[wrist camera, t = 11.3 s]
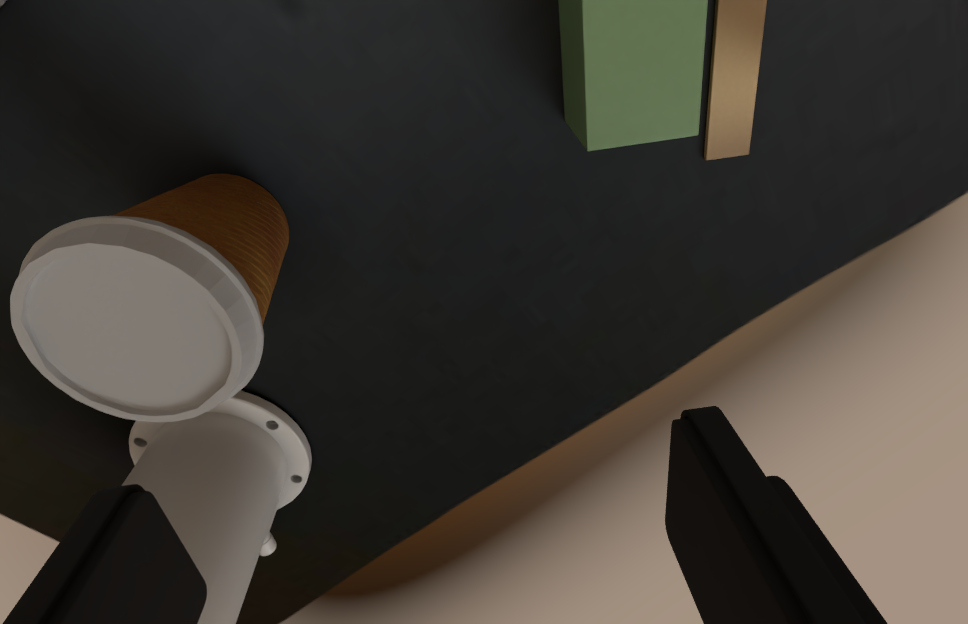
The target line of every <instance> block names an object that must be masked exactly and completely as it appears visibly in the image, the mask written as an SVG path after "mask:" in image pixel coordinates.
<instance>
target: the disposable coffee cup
mask: <svg viewBox="0 0 968 624" xmlns="http://www.w3.org/2000/svg"><path fill="white" fill-rule="evenodd" d="M288 243H289V227H288V222H287V219H286V216H285V214H284V212H283V210H282V208H281V207H280V205H279V203H278V202H277V201H276V200H275V199H274V197H273V196H272V195H271V194H270V193H269V192H267V191H266V190H265V189H264V188H263V187H261V186H260V185H258V184H256V183H255V182H253V181H251V180H249V179H246V178H244V177H241V176H237V175H231V174H210V175H206V176H203V177H201V178H198V179H196V180H194V181H191V182H189V183H187V184H185V185H182V186H180V187H177V188H175V189H173V190H170V191H168V192H165V193H163V194H160V195H158V196H156V197H153V198H151V199H149V200H147V201H145V202H142V203H140V204H138V205H135V206H133V207H130V208H128V209H126V210H123V211H121V212H119V213H116V214H114V215H112V216H101V217H88V218H84V219H80V220H77V221H73V222H70V223H67V224H64V225H62V226H60V227H58V228H56V229H53V230H52V231H50V232H49V233H48V234H46V235H45V236H44V237H42V238H41V239H40V240H38V241H37V242H36V243H34V245H33V246H32V248H31V250H30V251H29V253H28V254H27V256H26V257H25V259H24V260H23V262H22V265H21V269H20V273H19V277H18V278H17V279H16V281H15V284H14V287H13V290H12V293H11V296H10V313H11V323H12V327H13V330H14V332H15V335H16V337H17V340H18V342H19V344H20V346H21V348H22V349H23V351H24V352H25V354H26V355H27V357H28V358H29V360H30V361H31V363H32V364H33V365H34V366H35V367H36V368H37V369H38V370H39V371H40V372H41V373H42V375H43V376H45V377H46V378H47V379H48V380H49V381H50V382H52V383H53V384H54V385H55V386H56V387H58V388H59V389H61V390H62V391H64V392H65V393H67V394H68V395H70V396H71V397H73V398H74V399H75V400H77V401H79V402H82V403H84V404H86V405H88V406H90V407H93V408H95V409H97V410H99V411H101V412H104V413H107V414H111V415H114V416H117V417H120V418H124V419H130V420H137V421H143V422H175V421H180V420H185V419H189V418H194V417H196V416H199V415H201V414H203V413H205V412H208V411H210V410H211V409H213V408H214V407H216V406H217V405H219V404H220V403H221V402H223V401H225V400H227V399H229V398H231V397H232V396H234V395H235V394H237V393H238V392H239V391H240V390H241V389H242V388H244V387H245V386H246V385H247V383H248V382H249V381H250V380H251V378H252V377H253V375H254V373H255V371H256V370H257V368H258V366H259V363H260V359H261V356H262V352H263V342H264V332H263V327H262V325H263V323H264V319H265V316H266V313H267V309H268V306H269V303H270V300H271V296H272V293H273V290H274V287H275V284H276V281H277V277H278V274H279V271H280V267H281V264H282V261H283V258H284V255H285V252H286V249H287V246H288Z"/></svg>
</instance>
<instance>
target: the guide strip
mask: <svg viewBox="0 0 968 624" xmlns="http://www.w3.org/2000/svg"><path fill="white" fill-rule="evenodd" d="M766 4H767V0H716V3H715V16H714V29H713V42H712V56H711V69H710V82H709V95H708V109H707V122H706V135H705V148H704V159H705V160H713V159H720V158H727V157H734V156H741V155H748V154H749V148H750V139H751V131H752V122H753V114H754V106H755V97H756V89H757V80H758V72H759V63H760V55H761V46H762V38H763V29H764V21H765V12H766Z"/></svg>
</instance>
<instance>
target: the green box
mask: <svg viewBox="0 0 968 624" xmlns="http://www.w3.org/2000/svg"><path fill="white" fill-rule="evenodd" d="M558 3H559V21H560V40H561V58H562V77H563V95H564V114H565V122H566V123H567V125H568V126H569V127H570V129H571V130H572V131H573V133H574V134H575V135H576V137H577V138H578V139H579V141H580V142H581V143H582V145H583V146H584V147H585V149H586V150H587V151H593V150H600V149H607V148H614V147H620V146H627V145H634V144H641V143H648V142H655V141H662V140H669V139H676V138H683V137H690V136H696V135H698V132H699V118H700V103H701V89H702V75H703V60H704V46H705V32H706V17H707V3H708V0H558Z"/></svg>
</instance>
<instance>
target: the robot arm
mask: <svg viewBox="0 0 968 624" xmlns="http://www.w3.org/2000/svg"><path fill="white" fill-rule="evenodd" d="M129 449H130V455H131V457H132V460H133V463H134V465H135V466H134V468H133V469H132V471H131V472H130V474H129V475H128V477H127V478H126V480H125V481H124V483H123V484H122V486H117V487H109V488H102V489H100V490H99V491H97V492H96V493H95V494H94V495H93V496H92V498H91V499H90V501H89V502H88V503H87V505H86V506H85V508H84V509H83V511H82V512H81V513H80V515H79V516H78V518H77V519H76V520H75V522H74V523H73V525H72V526H71V527H70V529H69V530H68V532H67V533H66V535H65V536H64V537H63V539H62V540H61V542H60V543H59V545H58V546H57V547H56V549H55V550H54V552H53V553H52V554H51V556H50V557H49V559H48V560H47V561H46V563H45V564H44V566H43V567H42V569H41V570H40V571H39V573H38V574H37V576H36V577H35V578H34V580H33V581H32V583H31V584H30V586H29V587H28V588H27V590H26V591H25V593H24V594H23V596H22V597H21V598H20V600H19V601H18V603H17V604H16V605H15V607H14V608H13V610H12V611H11V612H10V614H9V615H8V617H7V618H6V620H5V621H4V622H3V624H236V621H237V618H238V615H239V612H240V609H241V606H242V603H243V601H244V598H245V595H246V592H247V589H248V586H249V583H250V580H251V577H252V574H253V571H254V568H255V566H256V563H257V560H258V557H259V554H260V555H261V556H267V555H270V554H271V553H272V552H274V550H275V549H276V542H275V540H274V538H273V536H272V534H271V533H270V532H269V531H270V528H271V525H272V522H273V519H274V516H275V514H276V511H277V509H279V508H282V507H283V506H285V505H286V504H288V503H289V502H291V501H292V500H293V499H294V498H295V497H296V496H298V495H299V494H300V493H301V491H302V489H303V488H304V486H305V484H306V482H307V479H308V476H309V473H310V469H311V462H312V456H311V449H310V446H309V443H308V441H307V438H306V436H305V434H304V433H303V431H302V430H301V429H300V427H299V426H298V424H297V423H296V422H295V421H294V420H293V419H292V418H291V417H290V416H289V415H288V414H287V413H285V412H284V411H282V410H281V409H279V408H278V407H277V406H275V405H274V404H272V403H270V402H268V401H266V400H264V399H262V398H260V397H258V396H256V395H253V394H250V393H247V392H244V391H241V390H240V391H239V392H238V393H237V394H235V395H234V396H232V397H231V398H229V399H227V400H225V401H223V402H221V403H220V404H219V405H217V406H216V407H214V408H213V409H211V410H210V411H208V412H205V413H203V414H201V415H199V416H196V417H194V418H189V419H185V420H180V421H175V422H143V421H137V420H136V421H135V423H134V425H133V427H132V429H131V432H130V436H129ZM667 486H668V487H667V501H666V515H665V525H666V530H667V535H668V538H669V541H670V544H671V546H672V548H673V551H674V553H675V556H676V558H677V561H678V563H679V565H680V568H681V570H682V572H683V575H684V577H685V580H686V582H687V584H688V587H689V589H690V591H691V594H692V596H693V599H694V601H695V604H696V606H697V608H698V611H699V613H700V616H701V618H702V620H703V623H704V624H887V622H886V621H885V620H884V618H883V617H882V615H881V614H880V613H879V611H878V610H877V608H876V607H875V606H874V604H873V603H872V602H871V600H870V599H869V597H868V596H867V594H866V593H865V591H864V590H863V589H862V587H861V586H860V584H859V583H858V582H857V580H856V579H855V578H854V576H853V575H852V574H851V572H850V571H849V569H848V568H847V566H846V565H845V563H844V562H843V561H842V559H841V558H840V556H839V555H838V554H837V552H836V551H835V549H834V548H833V547H832V545H831V544H830V542H829V541H828V540H827V538H826V537H825V535H824V534H823V533H822V531H821V530H820V528H819V527H818V525H817V524H816V523H815V521H814V520H813V519H812V517H811V516H810V514H809V513H808V511H807V510H806V509H805V507H804V506H803V504H802V503H801V502H800V500H799V499H798V497H797V496H796V495H795V493H794V492H793V490H792V489H791V488H790V487H789V485H788V484H787V483H786V482H785V481H784V480H783V479H781V478H780V477H778V476H767V477H766V476H765V475H764V473H763V472H762V470H761V469H760V467H759V466H758V464H757V463H756V461H755V460H754V458H753V457H752V455H751V454H750V452H749V451H748V450H747V448H746V447H745V445H744V444H743V442H742V441H741V439H740V438H739V436H738V435H737V433H736V432H735V430H734V429H733V427H732V426H731V424H730V423H729V421H728V420H727V418H726V417H725V416H724V414H723V412H722V411H721V410H720V409H719V408H718V407H716V406H711V407H704V408H697V409H689V410H684V411H683V412H682V414H681V419H677V420H673V422H672V427H671V443H670V456H669V471H668V485H667Z"/></svg>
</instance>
